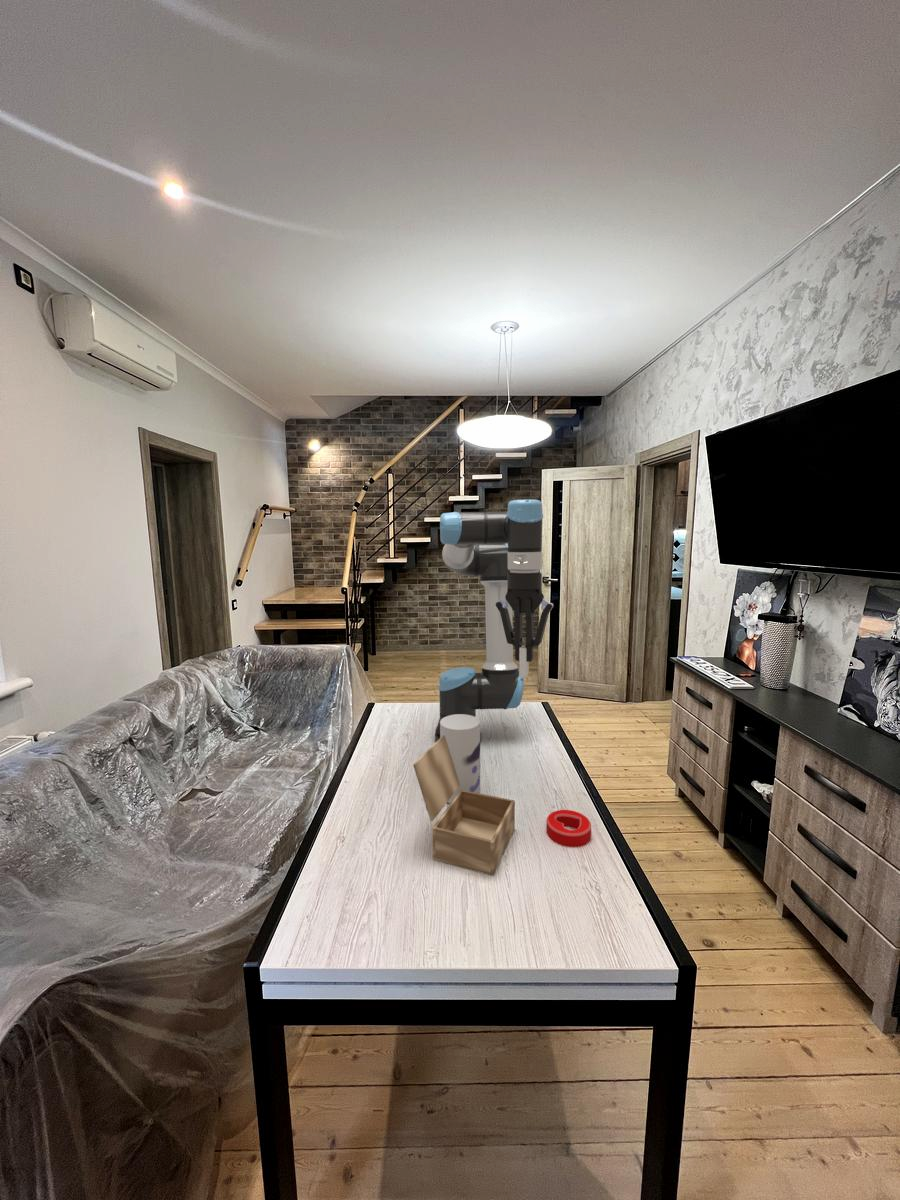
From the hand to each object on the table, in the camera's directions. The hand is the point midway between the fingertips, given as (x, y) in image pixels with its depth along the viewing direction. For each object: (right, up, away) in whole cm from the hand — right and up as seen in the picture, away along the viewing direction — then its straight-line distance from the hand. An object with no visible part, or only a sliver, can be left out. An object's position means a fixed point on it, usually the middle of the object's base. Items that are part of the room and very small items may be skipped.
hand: (524, 674), depth 110 cm
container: (-14, -33, +14) cm, 39 cm away
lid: (-19, -21, -4) cm, 29 cm away
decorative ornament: (+10, -35, -2) cm, 37 cm away
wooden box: (-11, -36, -6) cm, 38 cm away
